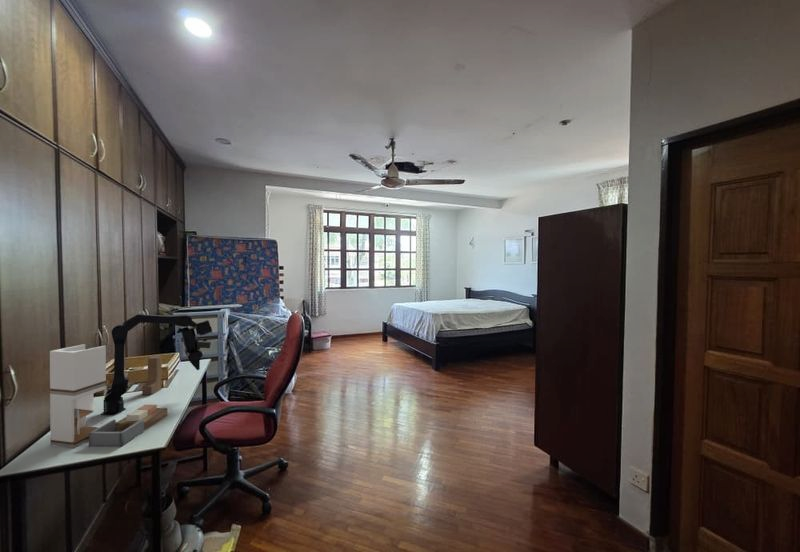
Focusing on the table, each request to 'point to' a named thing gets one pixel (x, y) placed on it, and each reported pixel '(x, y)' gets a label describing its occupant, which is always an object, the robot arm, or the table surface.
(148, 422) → the wooden board
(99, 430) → the charcoal tray
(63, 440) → the white dispenser tower
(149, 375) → the wooden block
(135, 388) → the table surface
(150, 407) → the terracotta tile
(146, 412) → the cream tile
